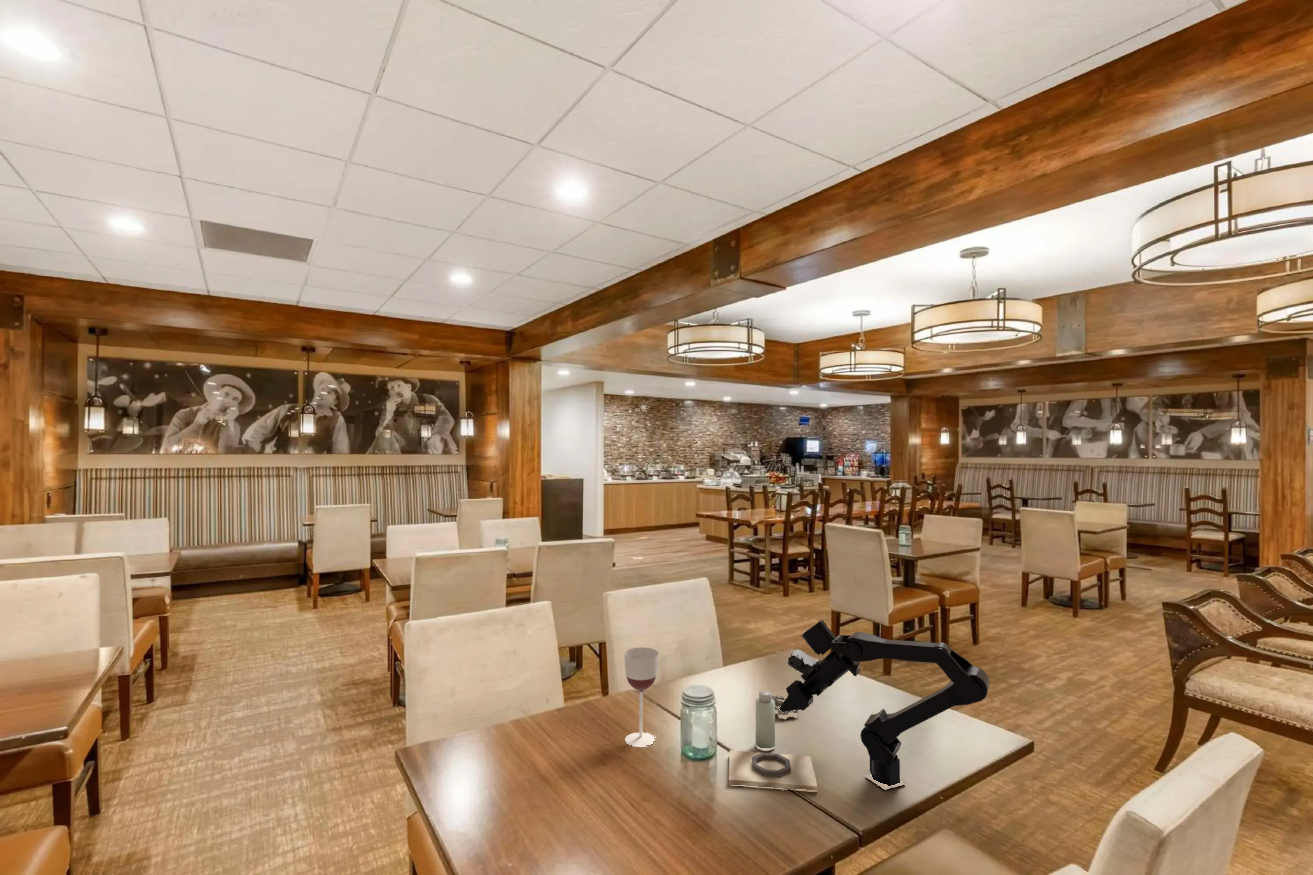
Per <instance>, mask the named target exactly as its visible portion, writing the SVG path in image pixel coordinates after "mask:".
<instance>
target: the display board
mask: <svg viewBox="0 0 1313 875" xmlns="http://www.w3.org/2000/svg"><path fill="white" fill-rule="evenodd" d="M728 765H729V766H728V767H729V768H728V769H729V770H728V786H729V785H746V786H758V787H773V788H783V789H786V788H787V789H806V790H817V791H818V784H817V779H816V774H815V771H814V766H813V763H812V759H811V756H810V755H801V754H800V755H799V754H788V753H787V754H786V753H775V752H774V753H772V752H771V753H770V752H760V751H759V752H756V751H743V750H729V764H728Z"/></svg>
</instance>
